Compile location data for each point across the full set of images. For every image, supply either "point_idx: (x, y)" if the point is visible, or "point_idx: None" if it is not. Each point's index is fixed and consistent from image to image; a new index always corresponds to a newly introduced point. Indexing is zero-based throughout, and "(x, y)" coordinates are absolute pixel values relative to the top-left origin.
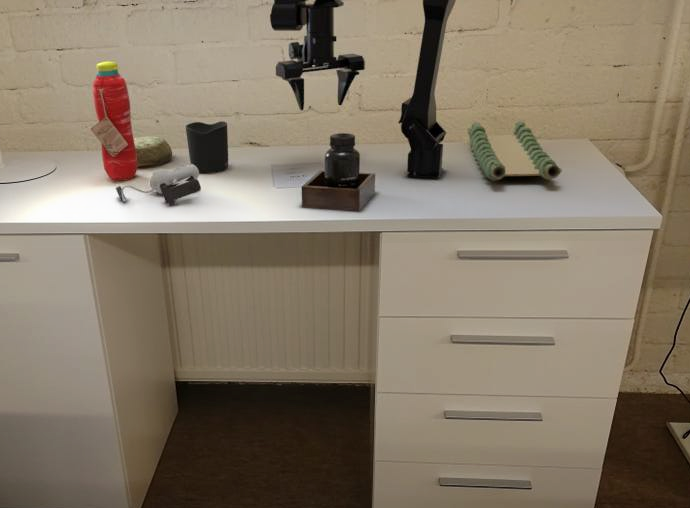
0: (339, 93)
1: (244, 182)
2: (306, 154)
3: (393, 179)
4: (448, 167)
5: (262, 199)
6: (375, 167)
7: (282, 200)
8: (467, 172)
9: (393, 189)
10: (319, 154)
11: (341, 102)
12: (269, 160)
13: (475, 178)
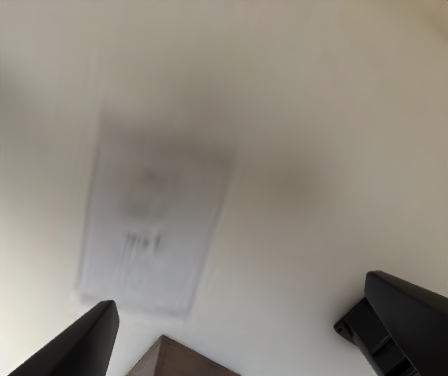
0: (437, 343)
1: (10, 234)
2: (229, 47)
3: (306, 325)
4: None
5: (41, 347)
6: (321, 246)
7: None
8: None
9: (277, 368)
10: (262, 69)
11: (381, 312)
12: (105, 56)
13: None
